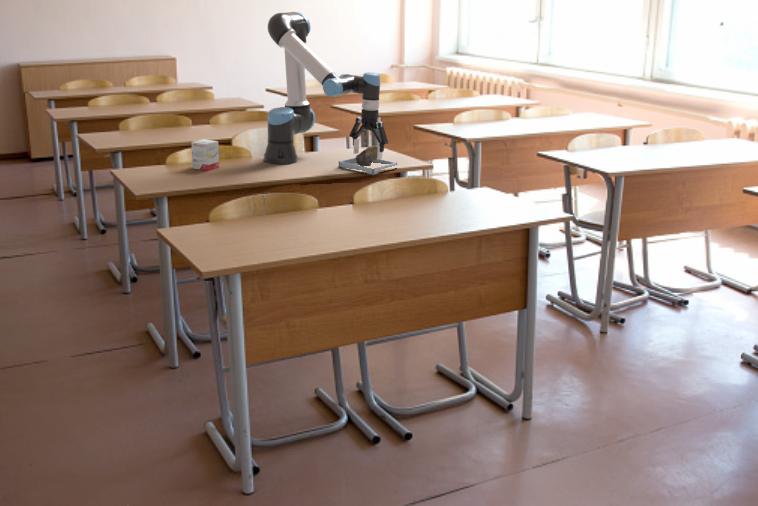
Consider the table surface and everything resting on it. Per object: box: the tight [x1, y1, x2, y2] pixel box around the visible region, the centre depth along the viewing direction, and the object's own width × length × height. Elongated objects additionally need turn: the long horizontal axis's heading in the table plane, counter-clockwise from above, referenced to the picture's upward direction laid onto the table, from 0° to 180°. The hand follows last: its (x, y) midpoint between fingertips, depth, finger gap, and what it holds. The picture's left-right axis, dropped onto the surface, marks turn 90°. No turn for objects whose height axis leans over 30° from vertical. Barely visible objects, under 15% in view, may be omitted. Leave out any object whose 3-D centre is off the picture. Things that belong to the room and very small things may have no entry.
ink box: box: [190, 138, 220, 171], centre depth 362 cm, size 9×9×12 cm
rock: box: [355, 145, 378, 167], centre depth 375 cm, size 11×10×10 cm
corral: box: [338, 156, 398, 176], centre depth 376 cm, size 20×18×3 cm
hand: (367, 156), depth 375 cm, fingers open, 13 cm apart
